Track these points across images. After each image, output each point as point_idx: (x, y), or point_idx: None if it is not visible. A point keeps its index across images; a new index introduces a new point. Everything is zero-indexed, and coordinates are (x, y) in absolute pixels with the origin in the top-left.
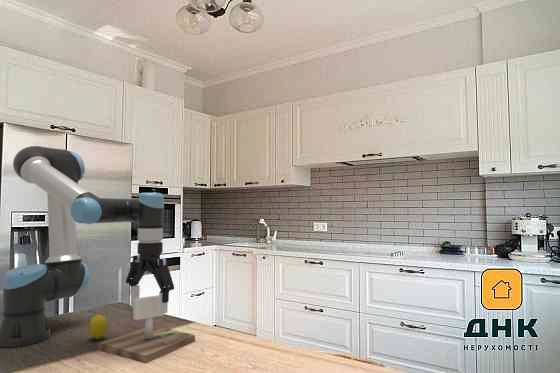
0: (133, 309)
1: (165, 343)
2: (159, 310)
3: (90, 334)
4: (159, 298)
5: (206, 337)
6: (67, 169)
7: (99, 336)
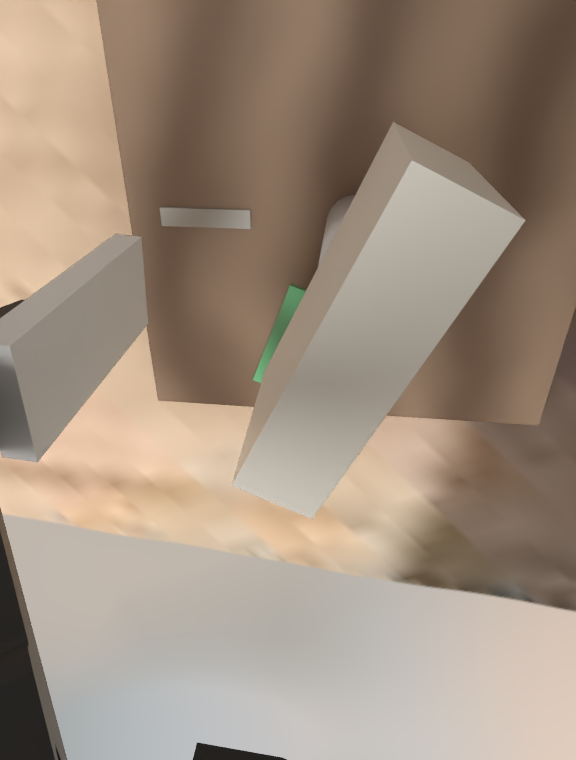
0: (484, 179)
1: (181, 207)
2: (112, 247)
3: None
4: (52, 303)
5: (165, 443)
6: None
7: None
